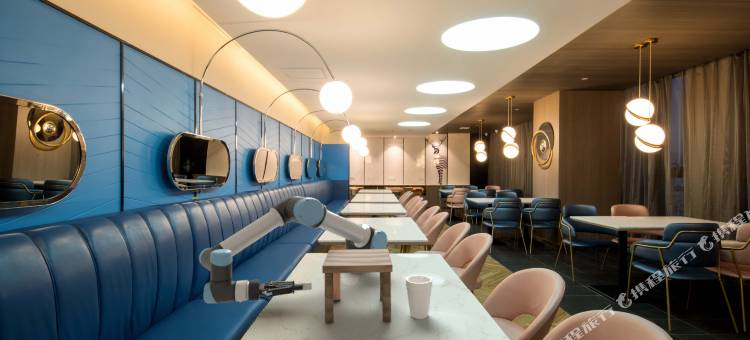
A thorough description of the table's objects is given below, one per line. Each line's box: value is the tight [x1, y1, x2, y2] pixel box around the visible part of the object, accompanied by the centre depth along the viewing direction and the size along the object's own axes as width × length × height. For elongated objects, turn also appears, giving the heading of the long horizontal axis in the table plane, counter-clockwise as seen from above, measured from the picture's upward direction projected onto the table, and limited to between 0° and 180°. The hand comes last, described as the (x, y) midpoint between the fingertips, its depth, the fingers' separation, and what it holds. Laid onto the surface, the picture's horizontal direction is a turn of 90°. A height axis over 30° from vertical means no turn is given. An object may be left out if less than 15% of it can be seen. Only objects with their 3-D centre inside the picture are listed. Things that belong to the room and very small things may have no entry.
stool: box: [321, 248, 394, 325], centre depth 135 cm, size 24×24×20 cm
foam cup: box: [405, 274, 433, 320], centre depth 129 cm, size 10×9×13 cm
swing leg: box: [333, 273, 341, 301], centre depth 136 cm, size 20×3×16 cm, turn 179°
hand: (311, 285), depth 141 cm, fingers closed
